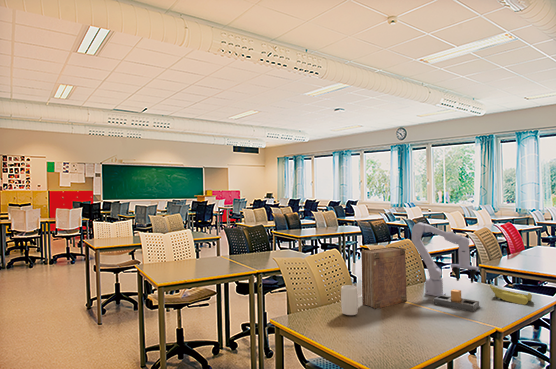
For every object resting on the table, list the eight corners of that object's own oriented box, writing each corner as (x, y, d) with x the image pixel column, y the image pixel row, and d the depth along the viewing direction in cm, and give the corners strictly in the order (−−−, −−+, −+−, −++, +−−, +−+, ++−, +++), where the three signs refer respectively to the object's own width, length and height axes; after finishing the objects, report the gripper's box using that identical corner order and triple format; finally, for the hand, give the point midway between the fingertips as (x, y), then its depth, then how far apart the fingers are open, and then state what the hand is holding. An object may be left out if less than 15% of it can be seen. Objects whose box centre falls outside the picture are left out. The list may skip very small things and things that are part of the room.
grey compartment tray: (434, 303, 201) (433, 298, 201) (440, 299, 208) (440, 294, 208) (473, 311, 187) (473, 305, 187) (479, 307, 194) (479, 301, 194)
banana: (532, 296, 203) (529, 292, 197) (530, 309, 201) (526, 305, 195) (493, 287, 218) (488, 283, 211) (491, 299, 216) (486, 295, 209)
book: (374, 309, 194) (372, 253, 195) (362, 305, 202) (360, 251, 203) (406, 301, 207) (405, 248, 208) (394, 297, 215) (392, 246, 216)
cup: (358, 318, 182) (357, 289, 182) (341, 317, 183) (340, 289, 184) (358, 312, 190) (357, 285, 190) (341, 311, 192) (341, 284, 192)
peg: (451, 305, 198) (450, 290, 198) (453, 303, 201) (453, 289, 201) (459, 307, 195) (458, 292, 195) (461, 305, 198) (461, 290, 198)
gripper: (448, 257, 214) (449, 280, 214) (475, 260, 204) (476, 284, 203) (452, 255, 219) (453, 278, 219) (479, 258, 209) (480, 282, 209)
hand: (464, 281), depth 211 cm, fingers open, 7 cm apart
